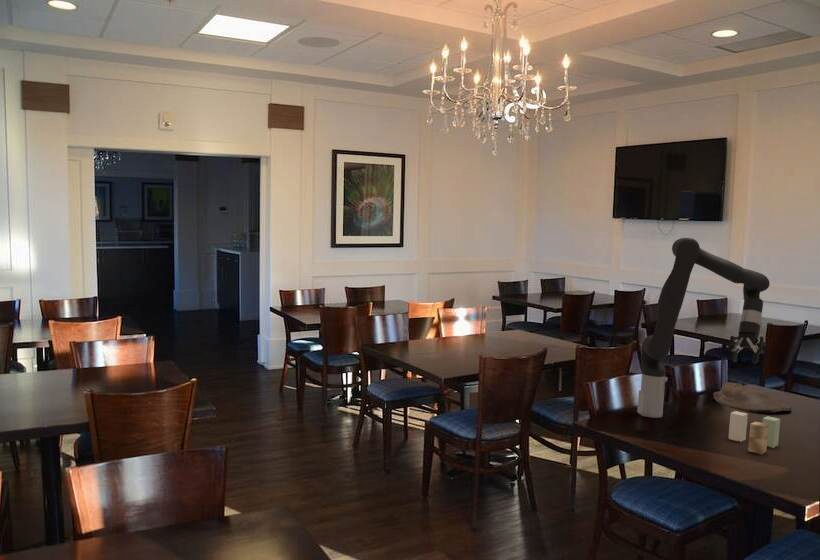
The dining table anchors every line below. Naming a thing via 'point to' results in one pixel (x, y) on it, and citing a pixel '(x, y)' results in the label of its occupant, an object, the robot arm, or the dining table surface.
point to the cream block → (738, 426)
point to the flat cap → (747, 399)
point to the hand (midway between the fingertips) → (744, 362)
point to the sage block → (772, 430)
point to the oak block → (758, 437)
